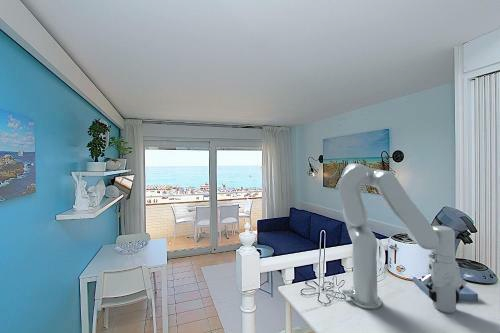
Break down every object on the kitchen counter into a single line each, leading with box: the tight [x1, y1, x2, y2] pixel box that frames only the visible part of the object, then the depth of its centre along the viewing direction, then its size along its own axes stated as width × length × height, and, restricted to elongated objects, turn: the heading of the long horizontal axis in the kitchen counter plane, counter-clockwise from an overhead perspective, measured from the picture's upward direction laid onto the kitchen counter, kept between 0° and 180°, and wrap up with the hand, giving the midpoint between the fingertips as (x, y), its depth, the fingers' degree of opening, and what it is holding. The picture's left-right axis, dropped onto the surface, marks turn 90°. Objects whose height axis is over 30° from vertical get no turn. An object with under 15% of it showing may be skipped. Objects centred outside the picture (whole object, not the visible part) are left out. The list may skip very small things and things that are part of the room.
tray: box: [412, 274, 479, 302], centre depth 110 cm, size 18×16×3 cm
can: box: [431, 283, 457, 314], centre depth 97 cm, size 8×8×12 cm
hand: (443, 300), depth 97 cm, fingers closed on can, 7 cm apart
